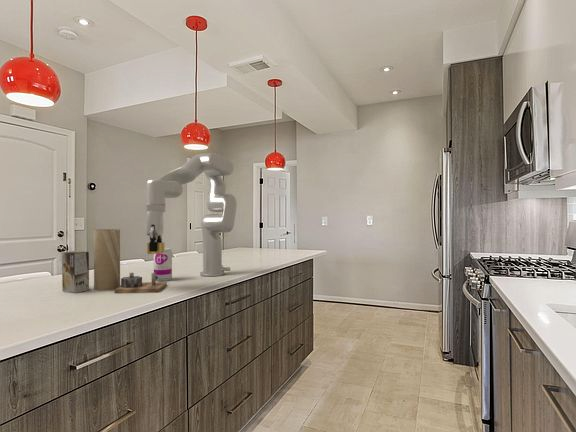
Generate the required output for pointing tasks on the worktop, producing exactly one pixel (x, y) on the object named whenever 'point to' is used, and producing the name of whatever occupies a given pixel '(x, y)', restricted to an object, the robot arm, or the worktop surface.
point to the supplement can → (163, 265)
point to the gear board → (139, 285)
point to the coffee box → (75, 271)
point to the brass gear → (160, 248)
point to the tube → (106, 259)
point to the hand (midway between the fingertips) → (155, 250)
